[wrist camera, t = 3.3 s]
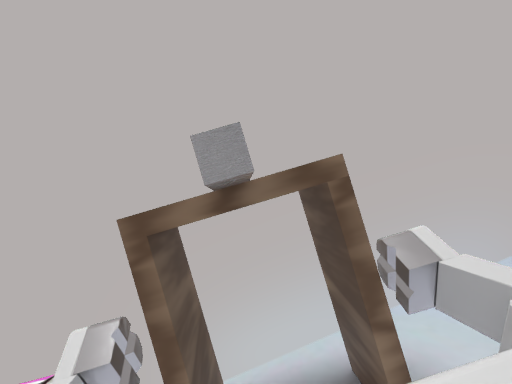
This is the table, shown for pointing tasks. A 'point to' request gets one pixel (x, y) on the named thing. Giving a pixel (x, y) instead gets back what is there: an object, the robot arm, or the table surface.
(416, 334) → the table surface
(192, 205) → the wooden side table
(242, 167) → the bar
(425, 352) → the table surface
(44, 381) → the candy bar box
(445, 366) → the table surface
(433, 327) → the table surface
